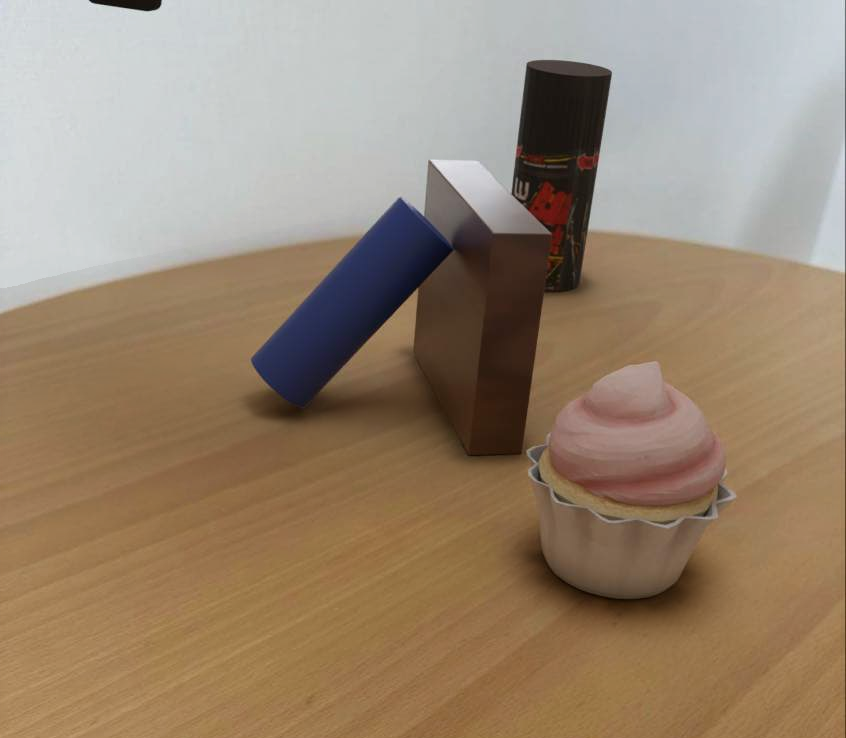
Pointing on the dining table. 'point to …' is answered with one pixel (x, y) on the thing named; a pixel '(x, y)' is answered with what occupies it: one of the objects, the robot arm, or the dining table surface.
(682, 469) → the cupcake
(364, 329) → the tube
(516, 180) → the deodorant
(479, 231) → the block
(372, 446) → the dining table surface
